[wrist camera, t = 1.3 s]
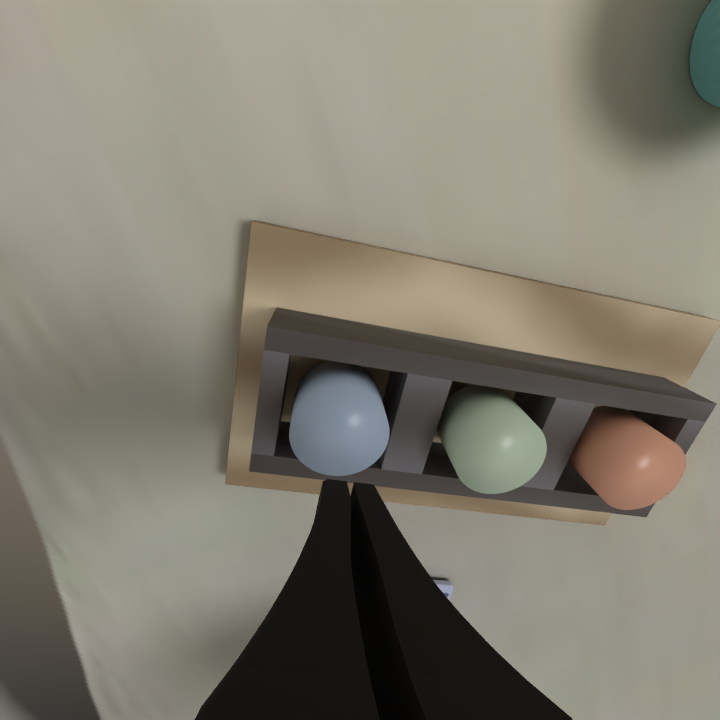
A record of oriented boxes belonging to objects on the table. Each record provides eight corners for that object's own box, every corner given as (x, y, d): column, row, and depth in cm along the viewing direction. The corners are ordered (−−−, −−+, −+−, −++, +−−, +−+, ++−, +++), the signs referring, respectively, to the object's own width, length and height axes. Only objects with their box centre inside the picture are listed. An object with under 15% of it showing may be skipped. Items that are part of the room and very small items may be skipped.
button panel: (594, 513, 25) (639, 566, 22) (229, 472, 22) (209, 526, 18) (704, 316, 20) (787, 340, 17) (255, 220, 17) (235, 224, 13)
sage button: (498, 457, 20) (526, 498, 17) (427, 448, 19) (443, 488, 16) (526, 390, 18) (561, 423, 16) (449, 378, 18) (471, 409, 15)
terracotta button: (614, 473, 21) (658, 513, 18) (550, 464, 20) (585, 505, 18) (649, 410, 19) (702, 444, 17) (580, 399, 19) (624, 432, 16)
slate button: (370, 440, 19) (377, 481, 16) (289, 429, 18) (282, 470, 15) (388, 368, 17) (400, 398, 15) (301, 354, 17) (297, 383, 14)
